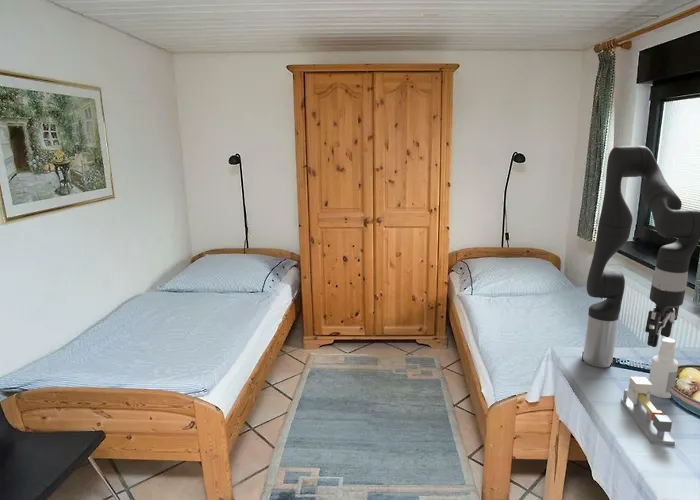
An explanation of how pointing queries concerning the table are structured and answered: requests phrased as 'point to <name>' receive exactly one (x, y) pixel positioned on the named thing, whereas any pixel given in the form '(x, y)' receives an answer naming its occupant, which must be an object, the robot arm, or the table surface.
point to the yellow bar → (655, 415)
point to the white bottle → (663, 369)
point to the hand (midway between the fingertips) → (658, 340)
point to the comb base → (646, 422)
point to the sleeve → (638, 388)
